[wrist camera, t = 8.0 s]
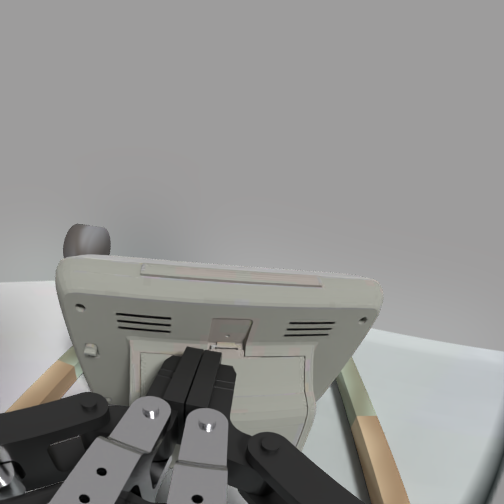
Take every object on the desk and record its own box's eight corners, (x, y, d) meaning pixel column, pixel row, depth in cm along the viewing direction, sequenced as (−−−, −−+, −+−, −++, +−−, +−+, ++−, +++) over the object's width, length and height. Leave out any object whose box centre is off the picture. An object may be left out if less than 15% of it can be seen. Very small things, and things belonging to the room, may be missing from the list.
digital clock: (321, 390, 21) (359, 257, 19) (351, 481, 12) (434, 317, 10) (112, 362, 20) (108, 224, 18) (62, 443, 12) (18, 261, 9)
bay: (-40, 441, 7) (-102, 284, 5) (96, 313, 27) (96, 216, 25) (409, 546, 7) (537, 410, 5) (342, 354, 27) (369, 257, 24)
